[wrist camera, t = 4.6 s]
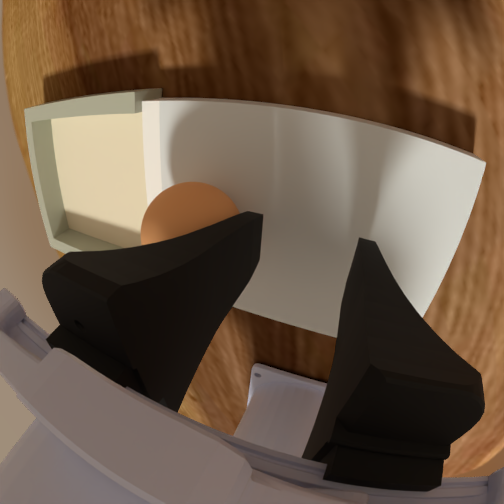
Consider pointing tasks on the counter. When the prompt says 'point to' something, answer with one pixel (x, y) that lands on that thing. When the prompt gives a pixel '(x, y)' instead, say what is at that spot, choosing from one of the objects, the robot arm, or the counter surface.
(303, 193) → the plate
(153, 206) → the ball
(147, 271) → the robot arm
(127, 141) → the tray
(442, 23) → the counter surface
